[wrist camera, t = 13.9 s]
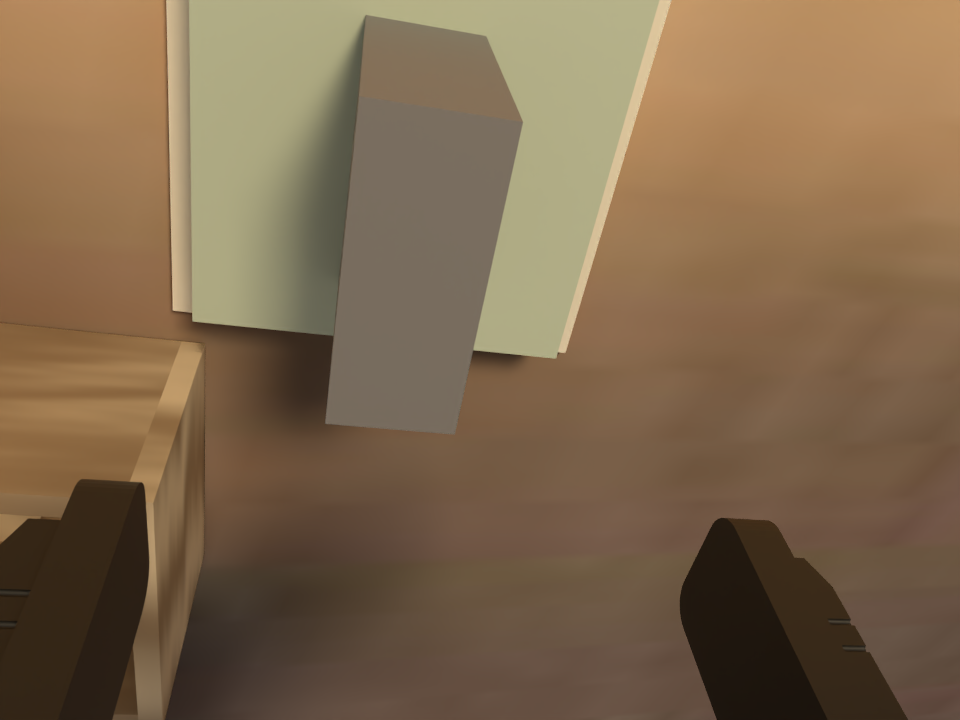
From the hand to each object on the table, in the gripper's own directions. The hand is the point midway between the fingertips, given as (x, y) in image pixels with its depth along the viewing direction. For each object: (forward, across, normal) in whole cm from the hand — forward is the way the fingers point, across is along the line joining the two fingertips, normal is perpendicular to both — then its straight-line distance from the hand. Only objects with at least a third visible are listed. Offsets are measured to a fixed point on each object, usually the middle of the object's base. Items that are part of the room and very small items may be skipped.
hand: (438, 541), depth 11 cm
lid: (+16, 0, 0) cm, 16 cm away
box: (+17, +12, +14) cm, 25 cm away
